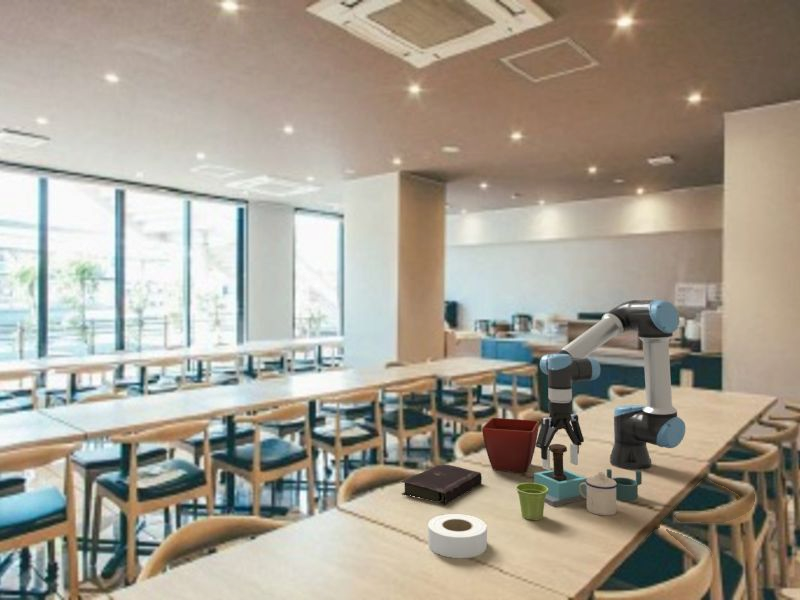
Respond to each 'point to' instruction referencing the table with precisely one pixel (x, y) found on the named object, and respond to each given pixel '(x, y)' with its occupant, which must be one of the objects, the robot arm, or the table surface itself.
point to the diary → (441, 483)
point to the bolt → (558, 461)
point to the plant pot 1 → (510, 443)
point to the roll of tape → (457, 535)
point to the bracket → (626, 486)
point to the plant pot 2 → (532, 500)
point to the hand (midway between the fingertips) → (560, 466)
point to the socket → (561, 487)
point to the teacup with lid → (600, 494)
